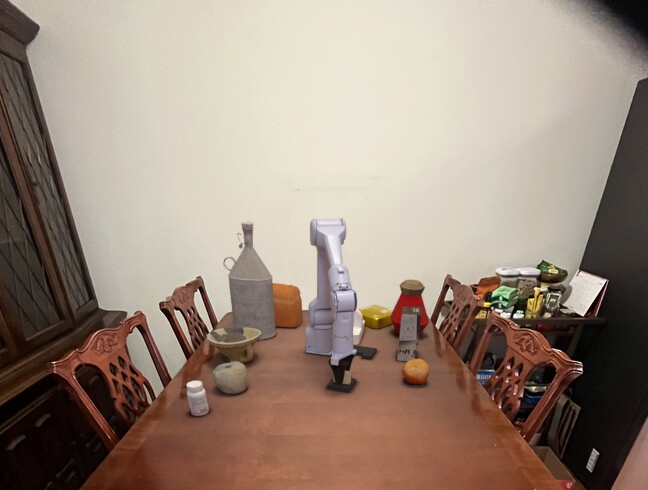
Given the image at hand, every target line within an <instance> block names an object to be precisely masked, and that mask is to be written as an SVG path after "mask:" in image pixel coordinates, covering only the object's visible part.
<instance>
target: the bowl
mask: <svg viewBox="0 0 648 490" xmlns="http://www.w3.org/2000/svg"><path fill="white" fill-rule="evenodd" d="M260 336H261V331H260V330H258V329H254V328H246V327H234V326H233V327H222V328H218V329H217V328H216V329H214V330H212V331H210V332H208V333H207V334H206V339H207V341H208V343H209V344H210V345H211V346H213V347H215V348H216V349H217V350H218V351H219V352H220V353H221V354H222V356H224V360H225V362H226V363H231V362H240V363H242V364H244V363H249V362H252V360H253V359H254V346H255V344H256V342H257V341H259V340H258V338H260Z"/></svg>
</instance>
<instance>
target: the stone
mask: <svg viewBox="0 0 648 490" xmlns="http://www.w3.org/2000/svg"><path fill="white" fill-rule="evenodd" d="M211 375H212V380H213V382H214V384H215V386H216V387H217V388H218V389H219V390H220V391H221V392H222V393H225V394H227V395H236V394H240V393H242V392H245V391H246V390H247V388H248V386H249V374H248V370H247V367H246V365H245V364H244V363H240V362H225V363H222V364H219V365H218V366H216V367H215V368H214V369H213V370H212V372H211Z"/></svg>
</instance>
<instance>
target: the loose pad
mask: <svg viewBox="0 0 648 490" xmlns="http://www.w3.org/2000/svg"><path fill="white" fill-rule="evenodd" d="M332 376H333V377H332V379H331V380H330V381H329V382H328V383H327V384H326V389H327V390H332V391H339V392H344V393H350V392H351V391H352V390H353V388H354V387H355V385H356V384H357V382H358V381H357V378H352V376H353V375H352V371H345V374H344V380H343V383H337V382H335V378H334V374H333V373H332Z"/></svg>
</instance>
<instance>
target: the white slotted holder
mask: <svg viewBox="0 0 648 490" xmlns="http://www.w3.org/2000/svg"><path fill="white" fill-rule="evenodd" d="M358 309H359V308H357V309H356V311H355V312H354V311H353V312H354V325H353V345H356V346H358V345H360V342H361V340H362V337H363V334H364V332H365V326H364V325H365V320H363V316H362V313H361V312H360V310H358Z"/></svg>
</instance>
